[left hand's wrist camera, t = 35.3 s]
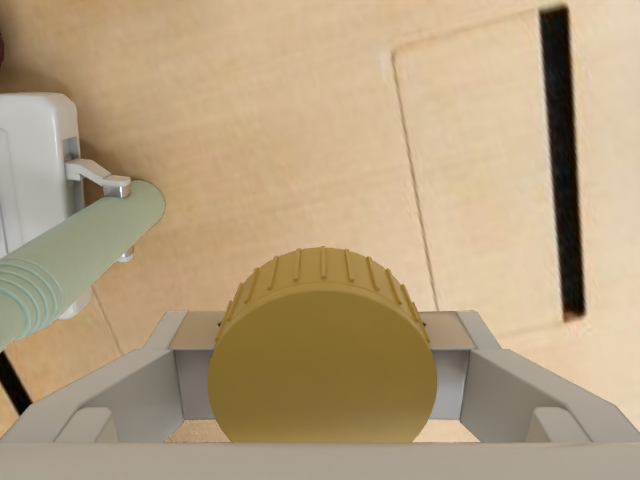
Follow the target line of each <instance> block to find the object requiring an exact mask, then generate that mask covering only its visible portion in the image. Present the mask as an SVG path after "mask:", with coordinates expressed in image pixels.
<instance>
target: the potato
mask: <svg viewBox="0 0 640 480" xmlns="http://www.w3.org/2000/svg"><path fill="white" fill-rule="evenodd" d="M3 59H4V43H3V40H2V37H1V33H0V66H1V64H2V61H3Z"/></svg>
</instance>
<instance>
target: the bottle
mask: <svg viewBox="0 0 640 480" xmlns="http://www.w3.org/2000/svg"><path fill="white" fill-rule="evenodd" d="M164 211H165V201H164V198H163V196H162V194H161V192H160V191H159V190H158V189H157V188H156V187H155V186H154V185H152V184H151V183H149V182H146V181H142V180H133V181H131V194H130V195H128V196H127V197H124V198H119V197H116V196H112V197H109V196H104V197H102V198H101V199H99V200H97V201H96V202H94V203H92V204H91V205H89V206H87V207H86V208H84V209H82V210H81V211H79V212H77V213H76V214H74V215H72V216H71V217H69V218H67V219H66V220H64V221H62V222H61V223H59V224H57V225H56V226H54V227H52V228H51V229H49V230H47V231H46V232H44V233H42V234H41V235H39V236H37V237H36V238H34V239H32V240H31V241H29V242H27V243H26V244H24V245H22V246H21V247H19V248H17V249H16V250H14V251H12V252H11V253H9V254H7V255H6V256H4V257H2V258H1V259H0V352H2V351H3V350H4V349H5V348H6V347H7V346H8V345H9V344H10V343H12V342H15V341H18V340H20V339H22V338H24V337H26V336H29V335H30V334H33V333H35V332H37V331H39V330H42V329H44V328H45V327H47V326H48V325H49V324H51V323H52V322H54V321H55V320H56V319H57V318H58V317H59V316H60V315H61V314H62V313H63V312H65V311H66V310H67V309H68V308H69V307H70V306H71V305H72V304H73V303H74V302H75V301H76V300H77V299H78V298H79V297H80V296H81V295H82V294H83V293H84V292H85V291H86V290H87V289H88V288H89V287H90V286H91V285H92V284H93V283H94V282H96V281H97V280H98V279H99V278H100V277H101V276H102V275H103V274H104V273H105V272H106V271H107V270H108V269H109V268H110V267H111V266H112V265H113V264H114V263H115V262H116V261H117V260H118V259H119V258H120V257H121V256H122V255H123V254H124V253H125V252H126V251H128V250H129V249H130V248H131V247H132V246H133V245H134V244H135V243H136V242H137V241H138V240H139V239H140V238H141V237H142V236H143V235H144V234H145V233H146V232H147V231H148V230H149V229H150V228H151V227H152V226H153V225H154V224H155V223H156V222H157V221H159V220H160V219H161V217H162V216H163V214H164Z"/></svg>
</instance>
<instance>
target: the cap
mask: <svg viewBox="0 0 640 480" xmlns="http://www.w3.org/2000/svg"><path fill="white" fill-rule="evenodd" d="M214 341H216V342H217V344H216V347H215V349H214V352H213V354H212V357H211V358H210V359H209V363H210V365H209V368H208V377H207V390H208V398H209V402H210V406H211V409H212V412H213V414H214V417H215V419H216V421H217V423H218V424H219V426H220V428H221V429H222V431H223V432H224V433H225V435H226V436H227V437H228V438H229V440H230V441H231V442H412V441H413V440H414V439H415V438H416V437H417V436H418V435H419V433H420V432H421V430H422V429H423V427H424V426H425V425H426V423H427V421H428V419H429V417H430V415H431V413H432V410H433V407H434V403H435V400H436V394H437V371H436V365H435V360H434V358H433V355H432V352H431V350H430V347H429V345H428V343H430V339H429V337H428V334H427V332H426V330H425V327H424V325H423V323H422V320H421V318H420V315H419V313H418V311H417V308H416V306H415V304H414V302H411V299H410V297H409V294H408V292H407V290H406V287H405V285H404V284H402V285H401V284H400V283H399V282H398V280H397V279H396V278H395V277H394V276H393V275H392V273H391V271H390V270H389V269H387V270H386V269H385V268H383V267H382V266H381V265H379V264H378V263H376V262H374V261H373V260H372V259H371V257H369V256H368V257H364V256H362V255H360V254H357V253H354V252H350V251H349V249H345V250H341V249H335V248H325V246H321V248H309V249H302V250H301V249H300V248H299V249H297V251H293V252H290V253H287V254H284V255H281V256H279V257H278V256H275V257H274V259H273V260H271V261H269V262H267V263H266V264H264V265H263V266H262V267H260V268H259V269H258V268H255V269H254V272H253V274H252V275H251V276H250V277H249V278H248V279H247V280H246V281H245V282H244V284H242V283H240V285H239V287H238V290H237V292H236V295H235V298H234V300H233V302H232V301H230V302H229V305H228V307H227V310H226V312H225V315H224V317H223V320H222V322H221V325H220V328H219V330H218V333H217V335H216V338H215V340H214Z"/></svg>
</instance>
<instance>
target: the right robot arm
mask: <svg viewBox="0 0 640 480" xmlns="http://www.w3.org/2000/svg"><path fill="white" fill-rule="evenodd" d="M86 177H87V178H88V179H90V180H92V181H93V182H95V183H97V184H98V185H100V186H102V187H103V194H104V196H109V197H112V196H116V197H119V198H124V197H127V196H128V195H130V194H131V178H130V177H127V176H118V175H112V173H110V172H109V171H107V170H106V169H104V168H103V167H102V166H100V165H99V164H97V163H96V162H94V161H93V160H88V159H81V155H80V143H79V131H78V120H77V108H76V105H75V103H74V102H73V101H72V100H70V99H69V98H68V97H67V96H65V95H64V94H62V93H53V92H18V93H1V94H0V259H1V258H2V257H4V256H6V255H7V254H9V253H11V252H12V251H14V250H16V249H17V248H19V247H21V246H22V245H24V244H26V243H27V242H29V241H31V240H32V239H34V238H36V237H37V236H39V235H41V234H42V233H44V232H46V231H47V230H49V229H51V228H52V227H54V226H56V225H57V224H59V223H61V222H62V221H64V220H66V219H67V218H69V217H71V216H72V215H74V214H76V213H77V212H79V211H81V210H82V209H84V208H85V202H84V190H83V179H84V178H86ZM133 257H134V245H133V246H132V247H131V248H130V249H129V250H128V251H126V252H125V253H124V254H123V255H122V256H121V257H120V258H119V259H118V260H117V261H116V262H129V261H130V260H131V259H132V258H133ZM91 299H92V285H91V286H90V287H89V288H88V289H87V290H86V291H85V292H84V293H83V294H82V295H81V296H80V297H79V298H78V299H77V300H76V301H75V302H74V303H73V304H72V305H71V306H70V307H69V308H68V309H67V310H66V311H65V312H63V313H62V314H61V315H60V316H59V317H58V318H57V319H69V318H72V317H73V316H75V315H76V314H78V313H79V312H80V311H81V310H82V309H83V308H84V307H85V306H86V305H87V304H88V303H89V302H90V301H91Z"/></svg>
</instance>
